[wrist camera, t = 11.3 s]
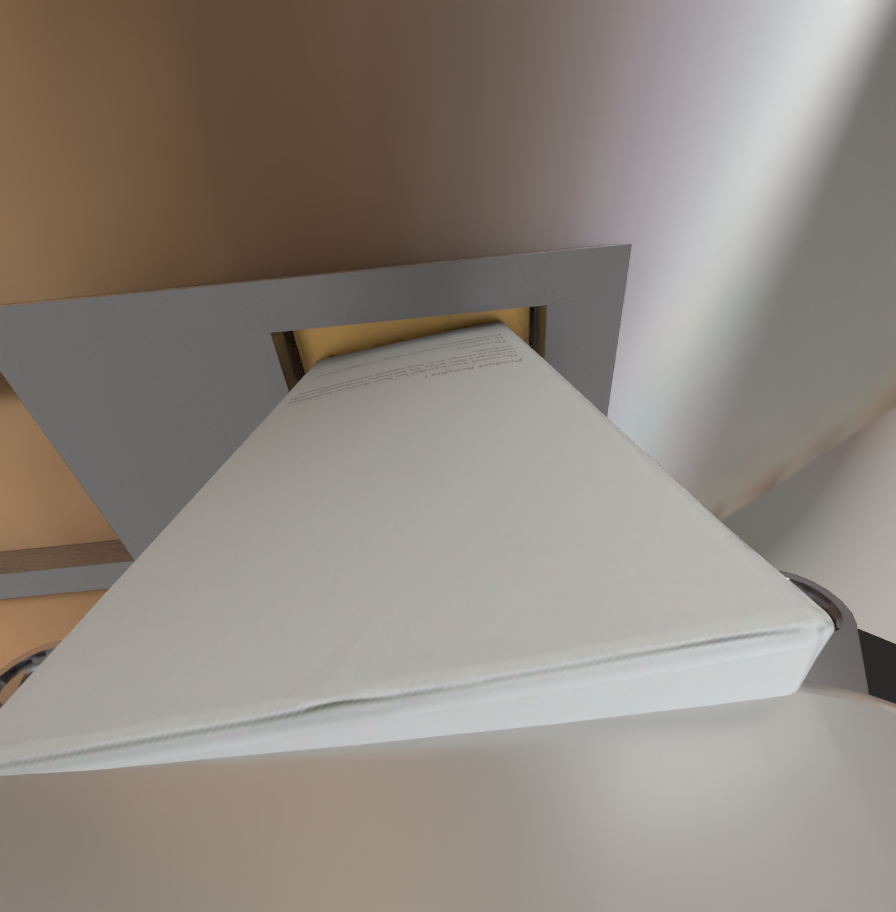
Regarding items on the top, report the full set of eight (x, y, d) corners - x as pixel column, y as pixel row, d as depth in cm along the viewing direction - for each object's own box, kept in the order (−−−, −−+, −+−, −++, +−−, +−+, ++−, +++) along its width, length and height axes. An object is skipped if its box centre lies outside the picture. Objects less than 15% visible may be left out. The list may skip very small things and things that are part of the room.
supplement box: (371, 509, 17) (276, 960, 6) (314, 355, 14) (-140, 793, 3) (525, 481, 17) (705, 906, 6) (510, 315, 13) (899, 632, 2)
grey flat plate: (-328, 337, 12) (-422, 349, 11) (608, 244, 12) (631, 243, 11) (-55, 581, 18) (-95, 608, 17) (576, 518, 18) (589, 539, 17)
